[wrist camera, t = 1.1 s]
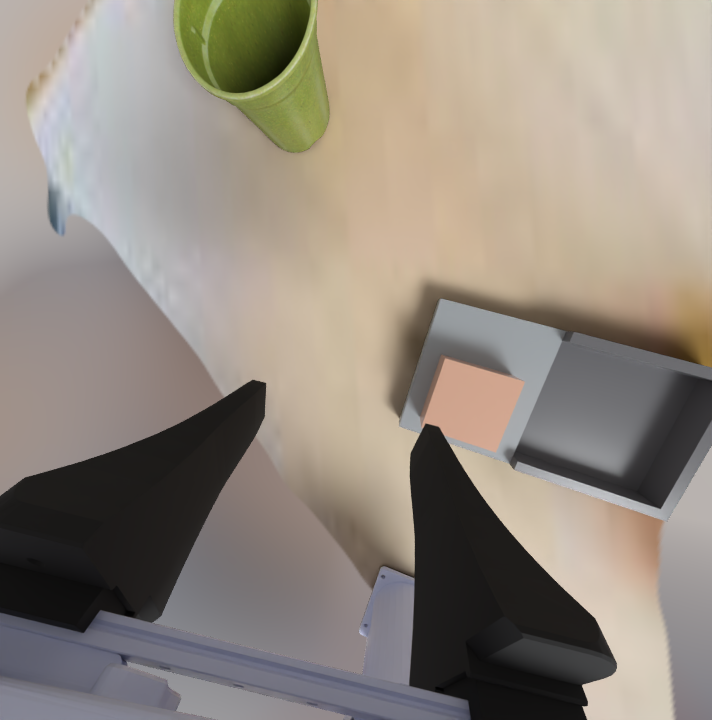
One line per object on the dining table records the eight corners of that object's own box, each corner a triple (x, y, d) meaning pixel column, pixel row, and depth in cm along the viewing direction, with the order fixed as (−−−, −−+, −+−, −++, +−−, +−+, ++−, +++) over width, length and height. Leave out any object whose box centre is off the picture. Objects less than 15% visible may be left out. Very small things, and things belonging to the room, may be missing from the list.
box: (635, 496, 24) (667, 521, 21) (501, 452, 25) (514, 469, 22) (704, 370, 21) (751, 378, 19) (552, 330, 23) (573, 331, 20)
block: (486, 438, 23) (495, 452, 21) (419, 417, 24) (421, 427, 22) (512, 374, 22) (525, 381, 20) (441, 354, 23) (445, 358, 21)
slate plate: (501, 452, 25) (509, 463, 23) (399, 418, 27) (398, 426, 25) (552, 330, 23) (566, 331, 21) (438, 300, 24) (440, 298, 23)
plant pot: (254, 57, 24) (173, -81, 16) (354, 54, 23) (324, -101, 14) (248, 170, 26) (171, 98, 18) (341, 174, 24) (307, 98, 16)
